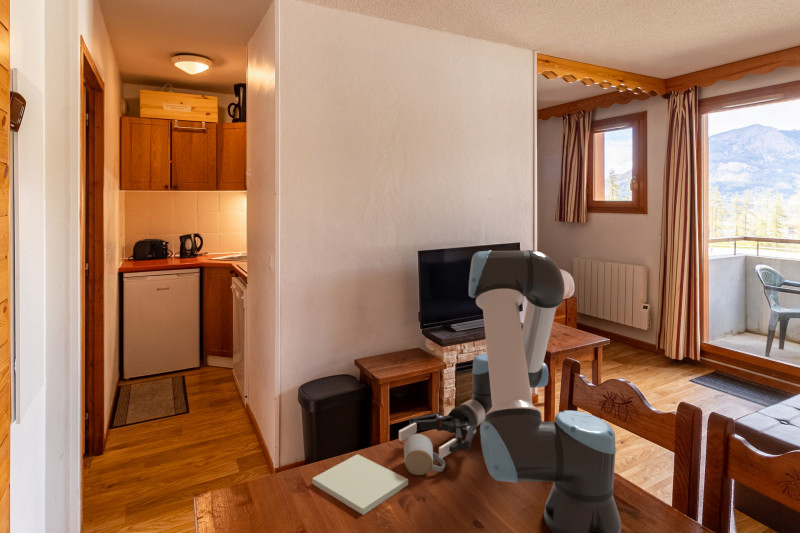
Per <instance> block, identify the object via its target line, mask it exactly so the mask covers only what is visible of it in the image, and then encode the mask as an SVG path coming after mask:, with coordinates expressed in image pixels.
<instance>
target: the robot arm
mask: <svg viewBox="0 0 800 533" xmlns="http://www.w3.org/2000/svg"><path fill="white" fill-rule="evenodd" d="M471 257H472V258H471V262H470V270H469V278H468V279H469V280H468V296H469V297H470V298H473V299H474V298H475V304H476V306H477V307H478V308H480V309H481V310H482V312H483V313H482V314H483V323H484V324H483V325H484V334H485V335H484V336H485V343H486V344H485V345H486V353H482V354H478V355H476V356H475V357H473V360H472V370H471V372H472V397H471V398H470V399H469V400H466V401H465V402H463V403H461V404H459V405H457V406H456V407H454V408H453V409H451V410H450V412H449V413H448V414H447V415H444V416H442V415H441V412H440V411H436V412H434V413H430V414H426V415H421V416H420V415H418V416H415V417H410V418H409V419H408V420H409V421H408V423H409V424H408V425H406V426H404V427H403V428H401V429H399V430H398V441H399V442H402V441H404V440H407V438H408V437H410V436H411V435H414V434H418V432H417V431H431V430H437V431H438V432H440V431H445V432H448V433H450V434H454V435H455V438H452V439H450V440H448V442H446V443H444V444H443V445H441V446H439V447H438V455H439V458H440V459H443V458H445V457H446V456H448V455H450V454H452V453H455V452H456V451H458V450H463V449H464V451H466V452H469V451H470V449H471V446H472V443H473V438H474V437H475V436H476V435H477V427H479V434H480V445H481V451H482V455H483V458H484V464H485V466H486V468H487V471H488V474H489V475H490V476H491V478H492V479H494V480H495V481H498V482H509V483H515V484H516V483H518V482H519V483H521V482H525V483H526V482H528V483H529V482H533V483H534V482H535V483H536V482H537V483H538V482H539V483H540V482H541V483H543V482H553V484H552V487H551V490H550V491H549V494H548V496H547V499H546V501H545V503H544V504H545V505H544V514H543V516H544V523H545V524H546V526H547V527H548V529H549V531H551V532H552V533H621V532H622V522H621V517H620V513H619V511H618V506H617V503H616V501H615V500H616V499H615V497H614V486H615V485H614V484H615V464H616V453H617V448H616V434H615V431H614V428H613V427H612V426H611V425H610V424H609V423H608V422H607V421H605V420H604V419H601V418H599V417H597V416H596V415H592V414H590V413H587V412H582V411H577V410H562V411H559V412H557V414H555V417H554V421H543V418H542V412H541V410H540V409H539V408H538V407H537V406H535V405H534V404H533V399H532V393H531V389H534V388H544V387H546V386H547V385H548V382H549V369H548V365H547V364H546V363H545V362H544V361H545V356H546V352H547V349H548V344H549V340H550V335H551V332H552V328H553V324H554V320H555V316H556V311H557V308H558V307H559V306H561V305H562V303H563V300H564V295H565V290H566V289H565V286H566V285H565V280H564V277H563V274H562V272H561V269H560V268H559V266H558V265H557V263H556V262H555V261H554V260H553V259H552V258H551V257H550V256H549V255H547V254H545V253H544V252H541V251H539V250H534V249H533V250H532V249H526V250H491V249H489V250H483V251H477V252H475V253H474V254H473V255H472V256H471ZM525 299H526V301H527V303H526V309H525V314H524V318H523V319H524V320H523V326H522V322H521V314H520V307H519V306H521V305H522V303H523V302H524V300H525ZM464 434H466V436H465V439H464V440H463V436H462V435H464Z"/></svg>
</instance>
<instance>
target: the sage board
mask: <svg viewBox="0 0 800 533" xmlns="http://www.w3.org/2000/svg"><path fill="white" fill-rule="evenodd" d="M311 481H312V482H311V484H312V485H314V487H317V488H318V489H320V490H321V491H323V492H325V493H326V494H328V495H330V496H331V497H333V498H335V499H336V500H338V501H340V502H341V503H343V504H344V505H346V506H348V507H349V508H351V509H353V510H354V511H356V512H357V513H359V514H361V515H363V516H364V515H365V514H367V513H368V512H370V511H371V510H373V509H375V508H376V507H378V506H379V505H380V504H382V503H384V502H386V501H387V500H388V499H390V498H391V497H392V496H394V495H395V494H398V493H399V492H400V491H402V490H403V489H404V488H406V487H407V486H409V479H408V478H406V477H405V476H403V475H401V474H399V473H396V472H394V471H392V470H391V469H388V468H386V467H384V466H382V465H381V464H378V463H376V462H375V461H373V460H370V459H369V458H366V457H364V456H362V455H360V454H358V453H357V454H355V455H353V456H351V457H349V458H348V459H346V460H344V461H342V462H340V463H338V464H336V465H334V466H332V467H331V468H329V469H327V470H325V471H324V472H321V473H319V474H317V475H316V476H314V477H312V480H311Z"/></svg>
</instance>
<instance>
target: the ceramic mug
mask: <svg viewBox="0 0 800 533" xmlns="http://www.w3.org/2000/svg"><path fill="white" fill-rule="evenodd" d="M403 456H404V457H403V459H404V461H403V462H404V465H405V467H406V470H407V471H408V472H409V473H410V474H412V475H414V476H424V475H426V474H428V472H430V470H431V471H433V472H438V473H441V472H443V471H444V470H445V468H446V462H445V459H443V458H442V459H440V458H439V453H436V452H434V446H433V443H432V441H431V439H430V438H429V437H428V436H426V435H424V434H421V433H415V434H413V435H411V436H410V437H408V438H406V439H405V441H404V443H403ZM434 460H435V461H437V462H438V463H439V464H440V466H439V465H436V464H434Z"/></svg>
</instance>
